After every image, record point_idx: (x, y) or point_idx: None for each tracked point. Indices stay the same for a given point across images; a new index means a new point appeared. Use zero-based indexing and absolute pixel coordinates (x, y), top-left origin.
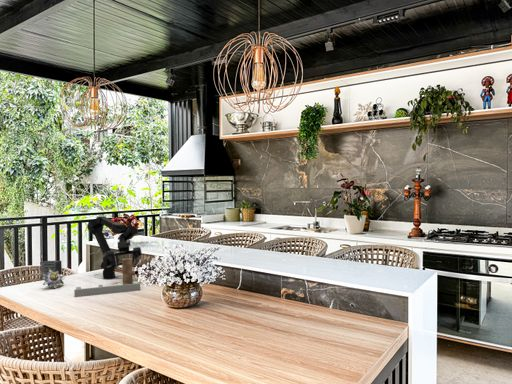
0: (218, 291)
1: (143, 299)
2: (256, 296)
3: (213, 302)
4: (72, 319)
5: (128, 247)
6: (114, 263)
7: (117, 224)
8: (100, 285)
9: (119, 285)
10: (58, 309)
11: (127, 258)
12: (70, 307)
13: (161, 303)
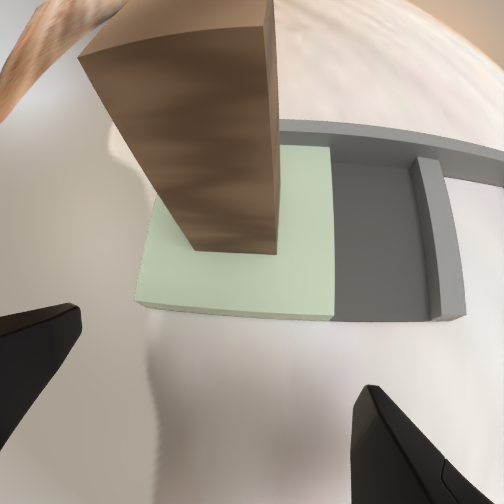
0: (17, 87)
1: None
2: (18, 56)
3: (89, 23)
4: (404, 6)
5: None
6: (417, 428)
7: None
8: (452, 289)
9: (308, 122)
10: (481, 69)
11: (160, 22)
12: (458, 65)
13: None
